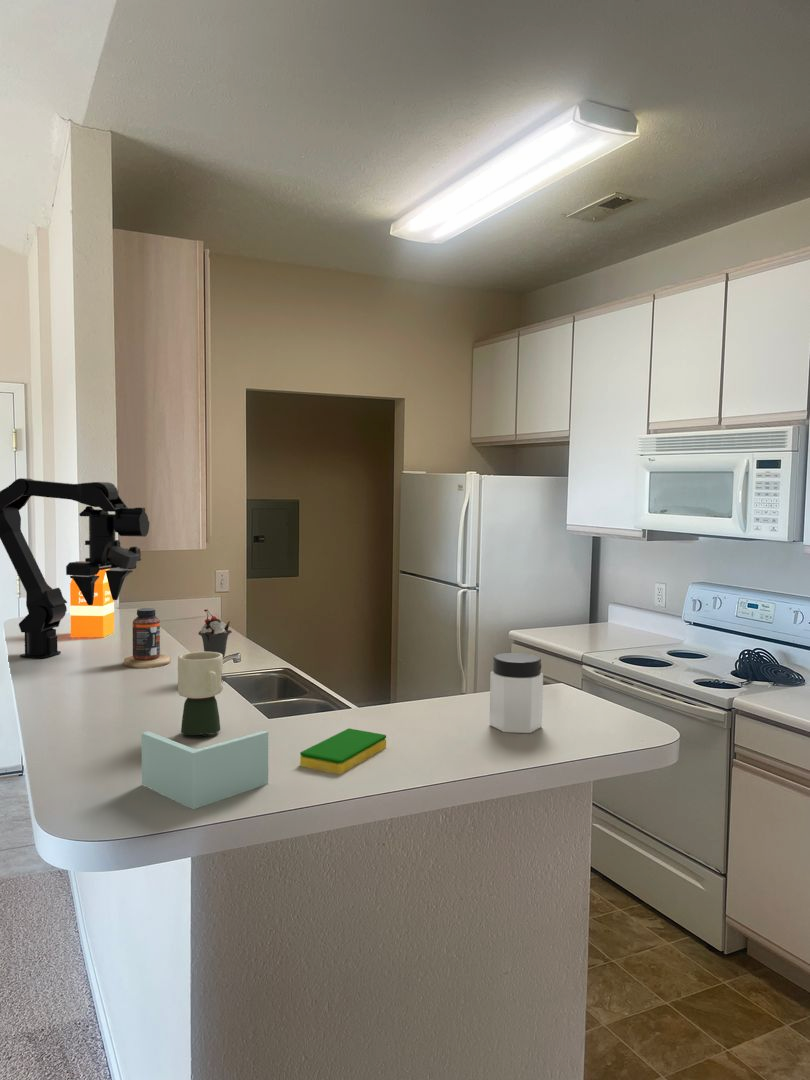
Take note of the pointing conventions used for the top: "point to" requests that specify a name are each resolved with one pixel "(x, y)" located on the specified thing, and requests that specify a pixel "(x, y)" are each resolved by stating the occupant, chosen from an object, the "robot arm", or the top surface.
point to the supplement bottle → (146, 635)
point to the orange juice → (92, 610)
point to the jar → (516, 693)
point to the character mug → (200, 691)
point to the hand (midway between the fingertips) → (103, 602)
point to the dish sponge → (342, 750)
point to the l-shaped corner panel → (204, 768)
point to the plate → (147, 662)
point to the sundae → (215, 636)
